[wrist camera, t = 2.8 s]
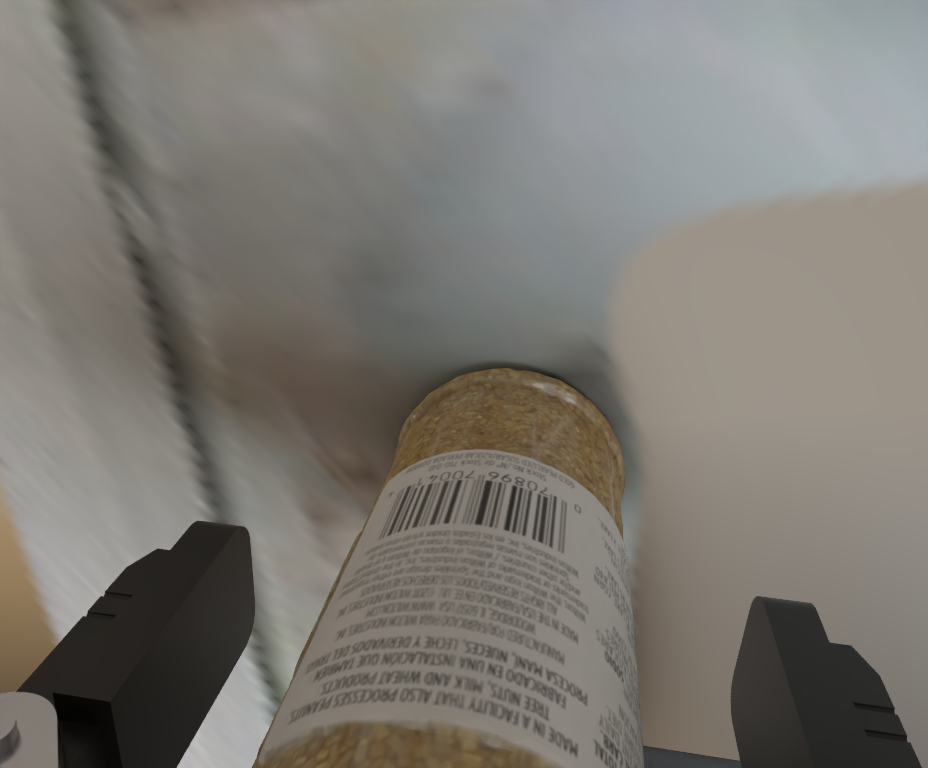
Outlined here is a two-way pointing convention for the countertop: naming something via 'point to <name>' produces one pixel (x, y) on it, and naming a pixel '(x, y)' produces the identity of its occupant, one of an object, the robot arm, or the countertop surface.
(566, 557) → the spice jar
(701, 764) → the tote
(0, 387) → the countertop surface
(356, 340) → the countertop surface
